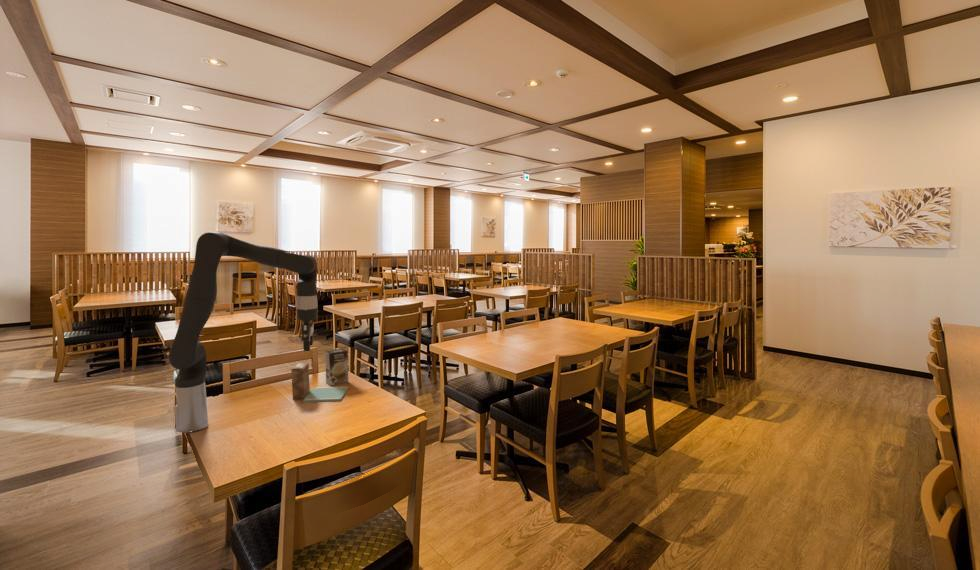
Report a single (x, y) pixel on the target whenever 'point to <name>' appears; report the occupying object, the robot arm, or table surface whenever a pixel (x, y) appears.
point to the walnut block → (300, 380)
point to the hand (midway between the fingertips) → (308, 347)
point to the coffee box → (336, 366)
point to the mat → (325, 394)
